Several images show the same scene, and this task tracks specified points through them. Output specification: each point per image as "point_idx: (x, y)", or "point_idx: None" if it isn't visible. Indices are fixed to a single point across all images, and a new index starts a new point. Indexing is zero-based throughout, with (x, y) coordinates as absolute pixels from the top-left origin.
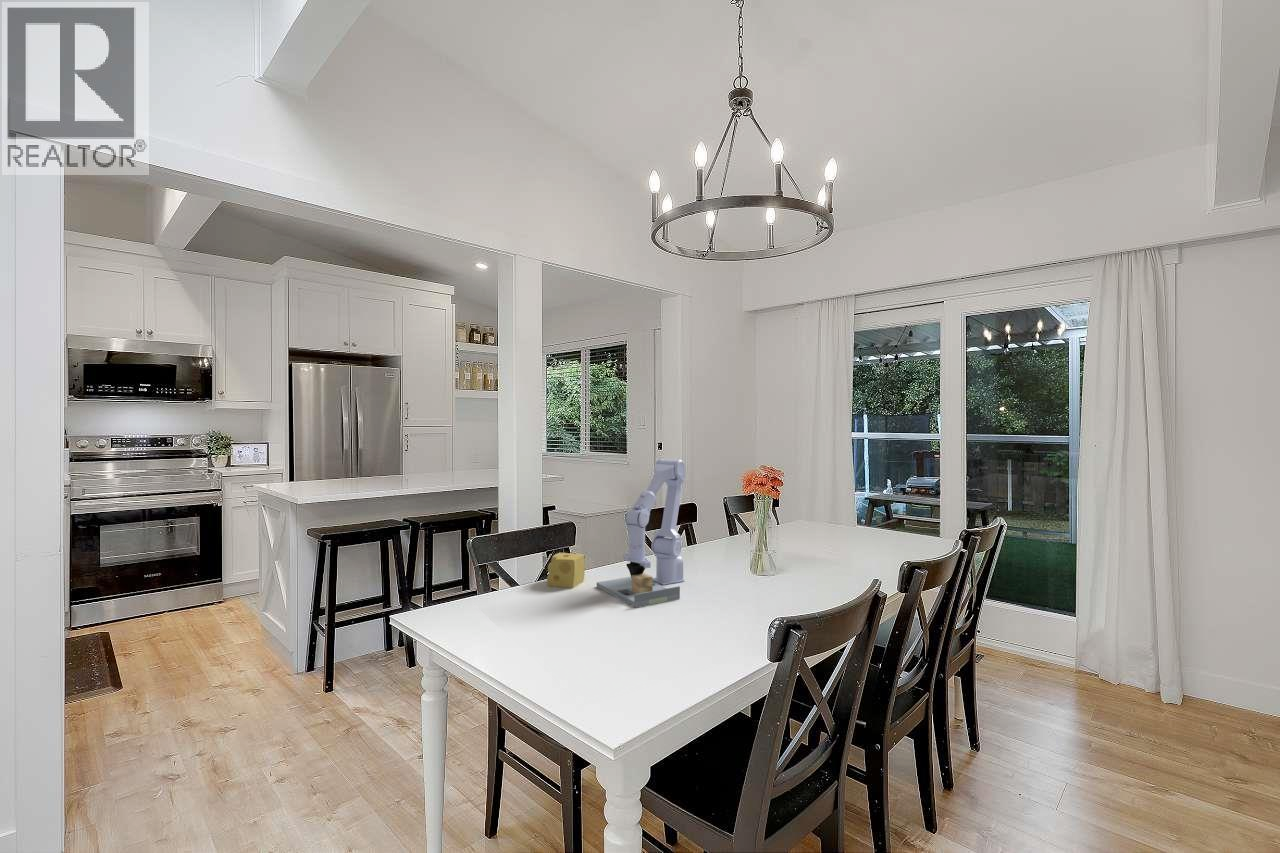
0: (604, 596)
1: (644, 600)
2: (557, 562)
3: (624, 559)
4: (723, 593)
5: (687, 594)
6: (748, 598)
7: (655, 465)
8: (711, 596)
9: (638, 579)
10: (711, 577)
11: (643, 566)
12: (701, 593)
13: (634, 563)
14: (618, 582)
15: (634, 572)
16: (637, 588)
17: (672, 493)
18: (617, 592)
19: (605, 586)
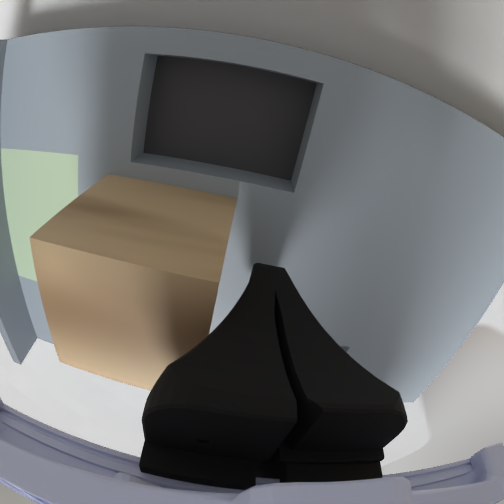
0: (375, 11)
1: None
2: None
3: (487, 448)
4: (61, 417)
5: (85, 374)
6: (13, 405)
7: None
8: (42, 388)
9: (56, 235)
10: None
11: (39, 422)
12: (79, 398)
13: (283, 471)
14: (455, 268)
15: (204, 339)
16: (122, 194)
17: None
18: (280, 54)
19: (478, 127)
